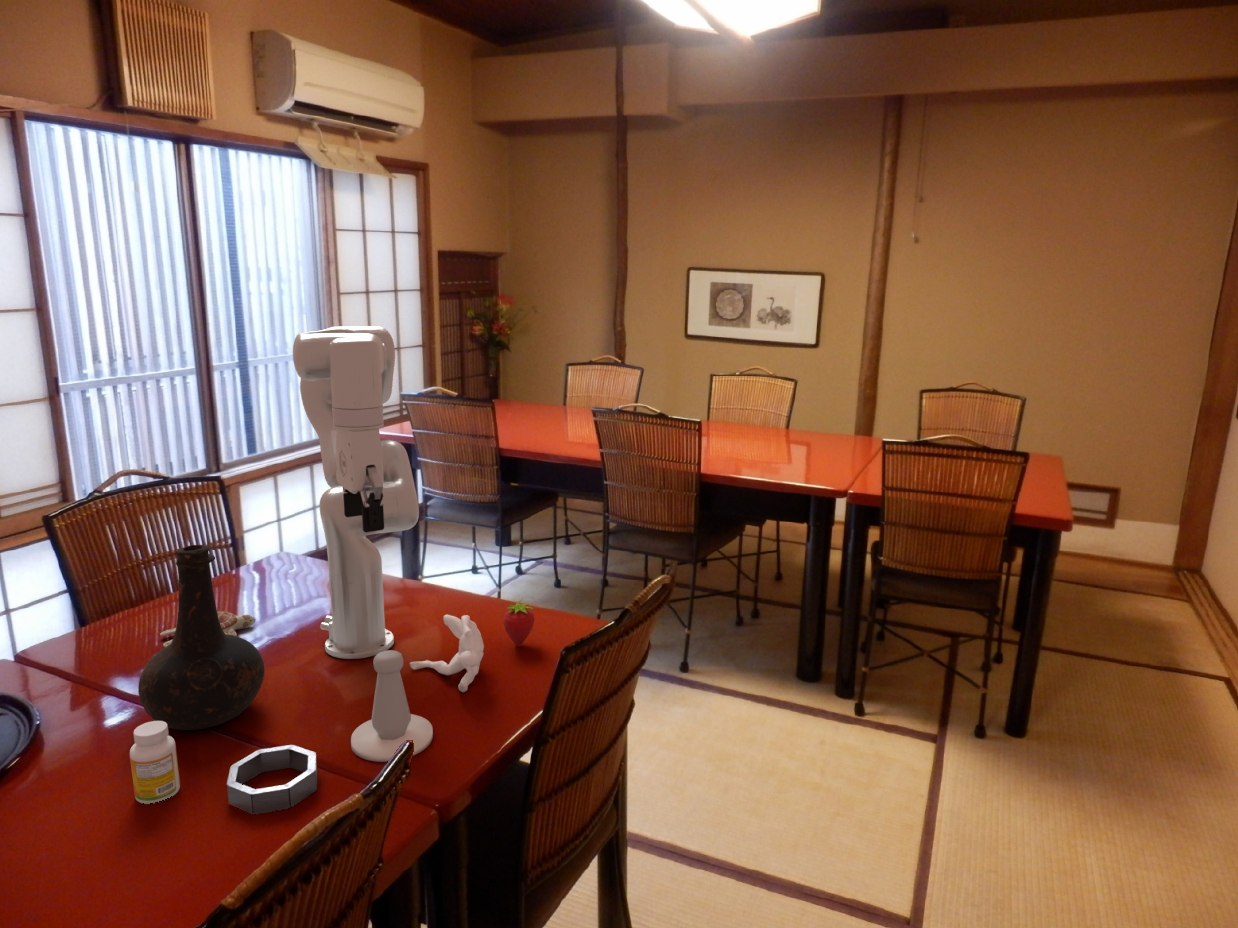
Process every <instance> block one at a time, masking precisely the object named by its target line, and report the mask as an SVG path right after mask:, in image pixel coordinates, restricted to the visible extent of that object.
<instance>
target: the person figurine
mask: <svg viewBox="0 0 1238 928" xmlns="http://www.w3.org/2000/svg"><path fill="white" fill-rule="evenodd" d="M442 618H443V623H444V625H445V626H447V627H448V628H449V629H450V631H451V633H452V634H453V635H454V637H456V638H457V639H459V641H458V652H457V653H456V654H454V655H453V657H452V658H451V660H450V662H449V664H448V663H447V662H445V661H444V660H439V661H437V660H436V661H431V660H428V659H426V660H423V661H411V662H409V666H410V668H411V669H412V670H414V671H415V670H420V669H424V668H429V669H430V668H431V669H434V670H435V671H437V673H438V674H441V675H445V676H451V675H454V674H457V673H459V672H461V671H463V670H466V673H465V674H464V676H462V678H461V680H460V682H459V684H458V691H460V692H462V693H465V692H467V691H468V686H469V685H470V684H472V682H473V681H474V679H475V676H476V675H478V673H479V669H480V665H481V661H482V659H483V657H484V654H485V653H484V648H485V645H484V640H483V637H482V634H481V632H480V630H479V629H478V626H477V623H476V622H475V621H472V620H471V619H470V618H471V617H470V615H468V614H466V615H465V614H464V615H461V619H460V618H458V617H457V616H455V615H452V614H448V613H447V614H445V615H443V617H442Z"/></svg>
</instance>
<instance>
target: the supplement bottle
mask: <svg viewBox="0 0 1238 928" xmlns="http://www.w3.org/2000/svg"><path fill="white" fill-rule="evenodd" d="M133 741H134V744H133V745H132V746H131V748H130V750H129V761H130V767H131V776H132V784H133V785H132V786H133V792H134V797H135V800H136V801H137V802H138V803H140V804H143V803H144V805H150V803H153V804H156V803H155V802H158V803H160V802H159V801H162V800H164V801H166V800H165V799H167V798H169V799H170V797H171V796H172V797H174V796H175V795H176V794H177V793H178V792H179V791H180V788H181V781H180V773H179V763H178V753H177V746H176V741H175V739H174V738H173V737H172V736H171V735H170V734H169V727H168V726H167V723H166V722H164V721H155V720H153V721H152V720H151V721H147V722H144V723H142V724H140V725H138V726H137V727H135V729H134V730H133ZM172 797H171V798H172ZM167 800H168V799H167ZM162 802H163V801H162Z"/></svg>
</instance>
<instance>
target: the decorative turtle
mask: <svg viewBox="0 0 1238 928" xmlns="http://www.w3.org/2000/svg"><path fill="white" fill-rule="evenodd" d="M217 613H218V617H219V621H220V624H221V627H222V630H223V631H224V633H225V634H229V635H234V636H237V635H238V634H237V632H236V631H237V630H238V629H239V630H241V629H243V630H244V629H247V628H249V627H252V626H253V625H254V624H255V622H256V619H255V617H254V616H253V615H251V614H240V615H236V614H234V613H232V612H228V611H224V610H223V611H222V610H217ZM175 631H176V627H174V628H170V629H166V630H163V631H162V632H161V633H159V635H160V636H161V637H162V636H168V635H172V634H174V635H175ZM237 637H238V636H237ZM172 640H173V639H171V640H168V641H165V642H164V643H163V644H162V645H163V648H165V647H167V646H168V645H170V644H171V642H172Z"/></svg>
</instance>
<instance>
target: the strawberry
mask: <svg viewBox="0 0 1238 928" xmlns="http://www.w3.org/2000/svg"><path fill="white" fill-rule="evenodd" d="M522 600H523V598H521V599H519V602H518V601H517V602H516V603H515V604H514V605H513V604H510V605H509V604H508V607H506V608H505V609H506V612H505V613H504V616H503V625H504V626H503V627H504V630H505V632H506V633H507V636H508V637H509V639H510V640H511V641H512V642H513V644H514V645H515V646H516V647H518V648H520V647H521V646H522V645H523V644H524V642H525V641H526V640H527V639H528V637H529V636H530V634H531V632H532V630H533V627H534V624H535V616H534V615H535V614H534V612H533V610H534V608H533V607H531V606H527V603H520V602H521V601H522ZM507 609H508V610H507Z"/></svg>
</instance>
